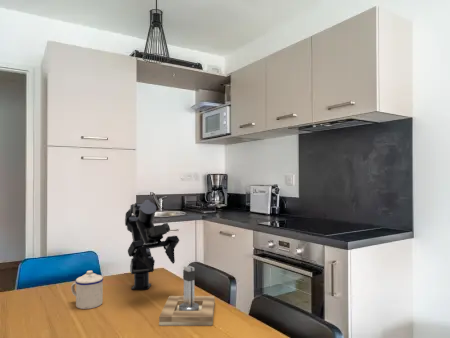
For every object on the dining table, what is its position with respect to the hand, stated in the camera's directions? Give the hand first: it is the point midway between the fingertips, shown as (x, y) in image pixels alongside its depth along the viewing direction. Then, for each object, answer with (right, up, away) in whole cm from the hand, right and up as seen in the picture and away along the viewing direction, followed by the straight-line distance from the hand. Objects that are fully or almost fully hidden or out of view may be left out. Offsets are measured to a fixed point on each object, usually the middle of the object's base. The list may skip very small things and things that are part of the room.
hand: (162, 265), depth 121 cm
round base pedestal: (+10, -12, -9) cm, 18 cm away
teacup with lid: (-27, -13, -1) cm, 30 cm away
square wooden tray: (+10, -13, -9) cm, 19 cm away
